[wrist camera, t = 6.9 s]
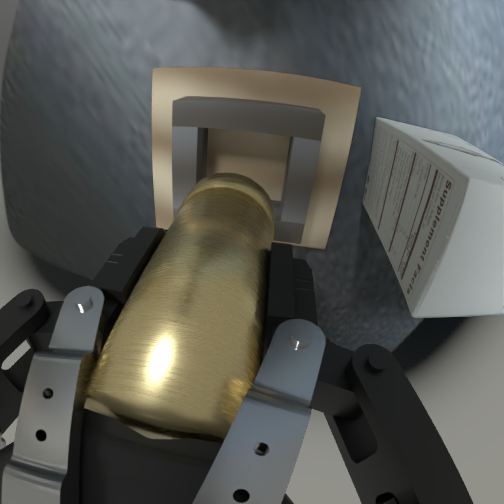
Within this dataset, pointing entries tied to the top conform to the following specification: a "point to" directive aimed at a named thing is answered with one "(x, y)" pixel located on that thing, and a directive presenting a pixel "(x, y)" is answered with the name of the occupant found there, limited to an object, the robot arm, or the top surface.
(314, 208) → the socket board
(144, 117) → the top surface
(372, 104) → the top surface
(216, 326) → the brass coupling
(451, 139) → the supplement box
